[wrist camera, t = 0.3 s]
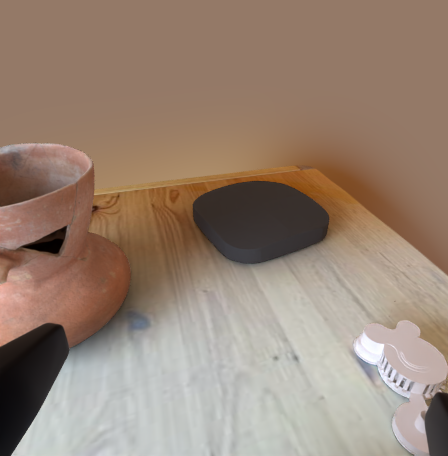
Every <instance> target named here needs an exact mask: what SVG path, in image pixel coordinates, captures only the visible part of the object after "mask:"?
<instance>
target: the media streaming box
mask: <svg viewBox="0 0 448 456" xmlns="http://www.w3.org/2000/svg"><path fill="white" fill-rule="evenodd" d="M193 217H194V221H195V223H196V224H197V226H198V227H199V228H200V229H201V231H202V232H203V233H204V234H205V236H206V237H207V238H208V239H209V240H210V241H211V242H212V243H213V245H214V246H215V247H216V248H217V249H218V250H219V251H220V252H221V253H222V254H223V255H224V256H226V257H227V258H229V259H231V260H234V261H237V262H241V263H260V262H263V261H267V260H270V259H273V258H276V257H279V256H282V255H285V254H288V253H291V252H294V251H297V250H299V249H302V248H305V247H307V246H310V245H312V244H315V243H317V242H319V241H321V240H323V239H324V238H325V236H326V234H327V229H328V224H329V216H328V213H327V212H326V211H325V209H323V208H322V207H321V206H320V205H319V204H318V203H316V202H315V201H314V200H313V199H311V198H310V197H308V196H307V195H305V194H304V193H302V192H300V191H298V190H297V189H295V188H292V187H290V186H288V185H285V184H281V183H276V182H268V181H250V182H243V183H237V184H232V185H228V186H225V187H221V188H218V189H215V190H212V191H210V192H207V193H205V194H203V195H201V196H200V197H198V198H197V199H196V200H195V201H194V203H193Z"/></svg>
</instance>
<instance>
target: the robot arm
mask: <svg viewBox="0 0 448 456" xmlns="http://www.w3.org/2000/svg"><path fill="white" fill-rule="evenodd" d="M68 353H69V344H68V340H67V337H66V333H65V330H64V327H63V326H62V325H60V324H55V323H45V324H43V325H41V326H39V327H37V328H35V329H33V330H31V331H29V332H27V333H25V334H23V335H22V336H20V337H18V338H16V339H14V340H12V341H10V342H8V343H6V344H4V345H2V346H1V347H0V456H11V455H12V453H13V452H14V450H15V448H16V447H17V445H18V444H19V442H20V441H21V439H22V437H23V436H24V434H25V433H26V431H27V430H28V428H29V426H30V425H31V423H32V422H33V420H34V418H35V417H36V415H37V413H38V412H39V410H40V408H41V406H42V405H43V403H44V401H45V399H46V397H47V395H48V393H49V391H50V389H51V387H52V385H53V383H54V381H55V380H56V378H57V376H58V374H59V372H60V370H61V368H62V366H63V364H64V362H65V360H66V358H67V356H68ZM425 431H426V437H427V443H428V449H429V455H430V456H448V393H443V392H437V393H436V394H435V395H434V397H433V399H432V401H431V403H430V406H429V408H428V410H427V412H426V415H425Z"/></svg>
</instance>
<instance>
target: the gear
mask: <svg viewBox="0 0 448 456" xmlns="http://www.w3.org/2000/svg"><path fill="white" fill-rule="evenodd" d="M395 301H396V300H395ZM395 301H394V302H395ZM419 336H420V329H419V328H418V326H417V325H415V324H414V323H412V322H410V321H400V322H398V323H397V326H396V328H395V329H388V328H386V327H384V326H383V325H380V324H377V323H370V324H367V325H366V326H365V328H364V331H363V332H362V333H360V335H359V336H358V337H357V338H356V339H355V340H354V343H353V347H354V350H355V352H356V354H357V355H358V356H359V357H360V358H361V359H362V360H364V361H365V362H367V363H370V364H373V365H378V370H379V373H380V375H381V377H382V379H383V380H384V382H385V383H386V384H387V385H388V386H389V387H390V388H391V389H392V390H394V391H395V392H397V393H398V394H400V395H402V396H404V397H406V398H409V402H406V403H403V404H401V405H400V406H399V407H398V408H397V410H396V412H395V414H394V416H393V419H392V428H393V432H394V434H395V436H396V438H397V440H398V441H399V442H400V444H401V445H402V446H403V447H404V448H405V449H406V450H407V451H409V452H410V453H412V454H413V455H415V456H430V455H429V449H428V443H427V437H426V431H425V415H426V412H427V410H428V408H429V407H427V405H426V403H425V401H424V400H428V399H431V398H433V397H434V395H435V394H436V393H437V392H442V391H441V390H440V388H442V389H445V386H443V385H442V384H443V383H444V384H446V380H445V379H446V377H447V375H448V365H447V362H446V360H445V358H444V356H443V355H442V354H441V353H440V351H439V350H438V349H437V348H435V347H434V346H433V345H432V344H430V343H429V342H427V341H425V340H423V339H421V338H419ZM384 370H385V371H384ZM434 384H436V386H434ZM408 386H409V387H408ZM438 386H439V387H438ZM437 387H438V388H437ZM432 388H434V389H433V390H432ZM423 393H424V394H423Z"/></svg>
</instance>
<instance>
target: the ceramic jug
mask: <svg viewBox="0 0 448 456" xmlns="http://www.w3.org/2000/svg"><path fill="white" fill-rule="evenodd" d="M93 197H94V166H93V161H92V159H91V158H90V157H89V156H88V155H87V154H86V153H84V152H82V151H81V150H78V149H75V148H72V147H69V146H65V145H60V144H38V143H27V144H26V143H25V144H14V145H8V146H5V147H1V148H0V347H1V346H2V345H4V344H6V343H8V342H10V341H12V340H14V339H16V338H18V337H20V336H22V335H23V334H25V333H27V332H29V331H31V330H33V329H35V328H37V327H39V326H41V325H43V324H45V323H55V324H60V325H62V326H63V327H64V330H65V333H66V337H67V340H68V344H69V348H71V347H73V346H75V345H77V344H79V343H81V342H82V341H84V340H85V339H87V338H89V337H90V336H92V335H93V334H94V333H96V332H97V331H98V330H100V329H101V328H102V327H103V326H104V325H105V324H106V323H107V322H108V321H109V320H110V319H111V318H112V317H113V316H114V315H115V314H116V312H117V311H118V310H119V308H120V307H121V305H122V304H123V302H124V300H125V298H126V296H127V293H128V290H129V286H130V280H131V270H130V264H129V261H128V259H127V257H126V256H125V254H124V253H123V251H122V250H121V249H120V248H119V247H118V246H117V245H116V244H115V243H113V242H111V241H110V240H108V239H106V238H104V237H102V236H100V235H97V234H94V233H89V232H88V228H89V224H90V218H91V211H92V204H93Z"/></svg>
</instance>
